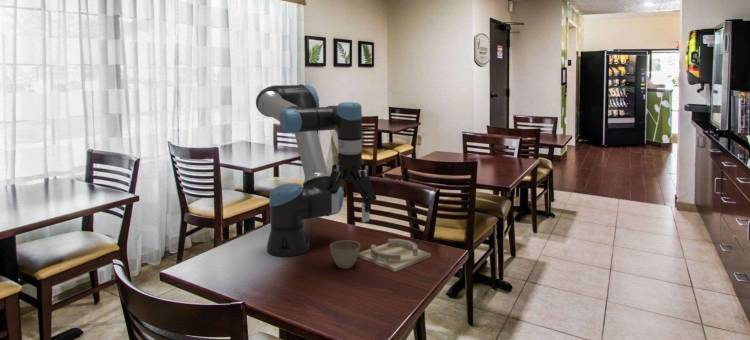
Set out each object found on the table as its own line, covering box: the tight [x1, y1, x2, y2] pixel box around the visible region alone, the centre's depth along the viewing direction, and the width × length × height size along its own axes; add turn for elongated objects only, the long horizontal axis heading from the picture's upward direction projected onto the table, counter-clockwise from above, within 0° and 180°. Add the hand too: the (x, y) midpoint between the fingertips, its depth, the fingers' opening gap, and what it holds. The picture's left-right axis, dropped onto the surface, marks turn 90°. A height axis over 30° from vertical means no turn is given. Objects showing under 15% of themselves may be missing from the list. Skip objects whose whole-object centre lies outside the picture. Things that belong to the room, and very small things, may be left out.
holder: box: [357, 238, 432, 273], centre depth 171 cm, size 18×18×4 cm
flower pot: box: [329, 239, 361, 269], centre depth 163 cm, size 10×10×7 cm
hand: (350, 216), depth 160 cm, fingers open, 13 cm apart
